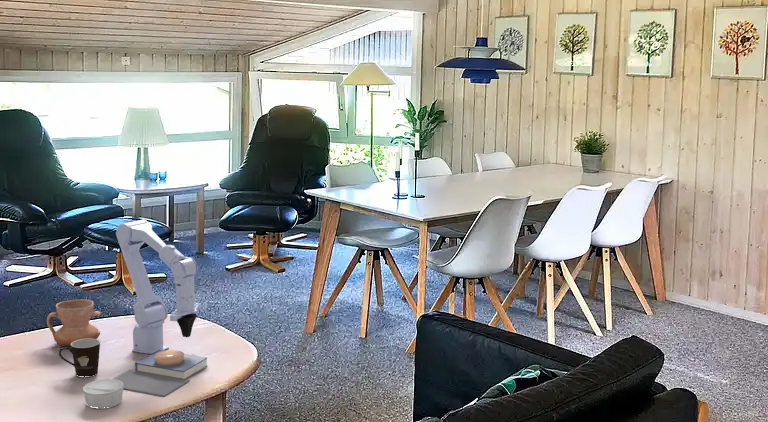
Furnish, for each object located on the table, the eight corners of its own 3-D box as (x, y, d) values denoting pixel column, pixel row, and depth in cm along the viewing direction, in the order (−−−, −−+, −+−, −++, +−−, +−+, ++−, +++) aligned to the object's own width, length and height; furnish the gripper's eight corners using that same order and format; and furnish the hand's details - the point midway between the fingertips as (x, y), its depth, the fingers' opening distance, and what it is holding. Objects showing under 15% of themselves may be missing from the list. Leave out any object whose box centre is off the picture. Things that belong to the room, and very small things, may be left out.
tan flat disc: (148, 363, 270) (148, 357, 270) (166, 354, 278) (165, 348, 278) (173, 367, 267) (173, 361, 267) (189, 358, 275) (189, 352, 275)
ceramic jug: (108, 336, 304) (105, 297, 301) (96, 350, 289) (93, 309, 287) (56, 337, 303) (53, 298, 300) (41, 351, 289) (38, 310, 286)
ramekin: (85, 413, 240) (84, 395, 239) (81, 398, 250) (80, 381, 249) (126, 407, 245) (126, 390, 244) (121, 393, 255) (121, 376, 254)
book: (135, 371, 271) (134, 362, 271) (160, 358, 283) (159, 349, 283) (183, 380, 265) (183, 371, 264) (207, 366, 277) (207, 357, 276)
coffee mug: (107, 371, 272) (105, 340, 270) (89, 380, 264) (88, 349, 262) (76, 366, 275) (75, 336, 273) (58, 375, 267) (56, 344, 265)
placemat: (102, 385, 260) (102, 383, 260) (130, 370, 272) (129, 369, 272) (164, 396, 252) (164, 395, 252) (189, 381, 264) (189, 380, 264)
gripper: (182, 303, 270) (184, 344, 272) (208, 291, 283) (209, 331, 286) (163, 300, 272) (165, 341, 275) (190, 289, 286) (191, 328, 288)
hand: (186, 336), depth 280 cm, fingers closed
